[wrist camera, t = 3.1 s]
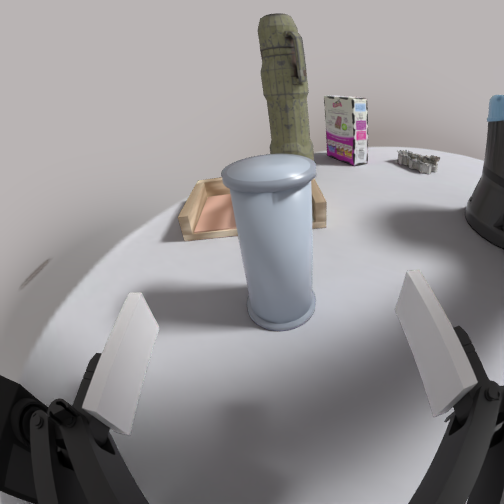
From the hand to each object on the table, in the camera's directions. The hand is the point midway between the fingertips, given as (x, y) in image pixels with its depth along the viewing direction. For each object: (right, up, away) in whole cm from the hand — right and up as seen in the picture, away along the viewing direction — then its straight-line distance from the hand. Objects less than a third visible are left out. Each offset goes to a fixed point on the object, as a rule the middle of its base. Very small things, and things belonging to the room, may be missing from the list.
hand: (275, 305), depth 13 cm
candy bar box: (+23, +26, +50) cm, 60 cm away
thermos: (+8, +19, +44) cm, 48 cm away
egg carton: (+40, +23, +43) cm, 63 cm away
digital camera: (-20, -16, 0) cm, 26 cm away
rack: (-1, +9, +31) cm, 33 cm away
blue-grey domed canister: (+2, -3, +14) cm, 14 cm away
